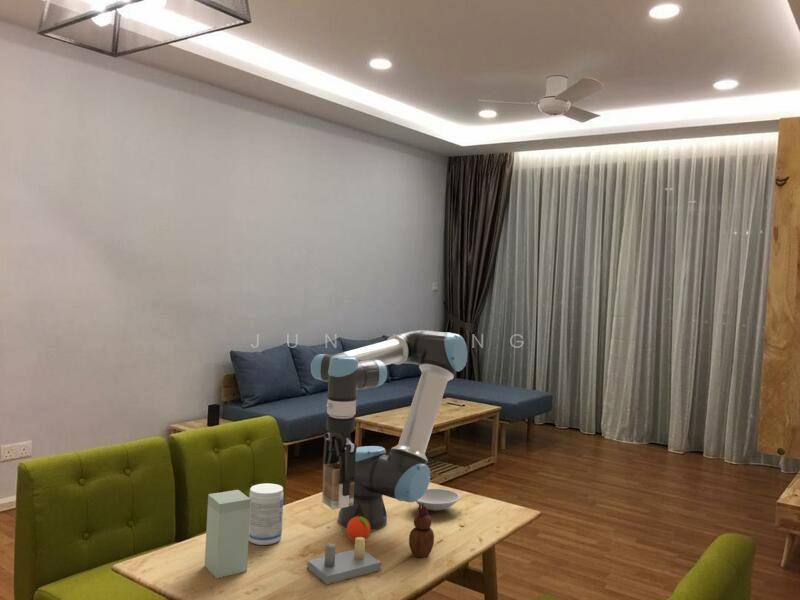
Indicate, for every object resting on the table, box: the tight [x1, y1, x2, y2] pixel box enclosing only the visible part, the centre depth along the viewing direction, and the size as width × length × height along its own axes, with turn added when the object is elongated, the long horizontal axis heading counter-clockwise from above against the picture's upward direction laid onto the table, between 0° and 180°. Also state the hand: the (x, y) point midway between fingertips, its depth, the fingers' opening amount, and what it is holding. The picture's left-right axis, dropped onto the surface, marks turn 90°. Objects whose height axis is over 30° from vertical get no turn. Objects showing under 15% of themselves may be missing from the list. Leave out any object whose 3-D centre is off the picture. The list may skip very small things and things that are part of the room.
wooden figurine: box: [408, 503, 435, 558], centre depth 175 cm, size 7×6×15 cm
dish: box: [415, 487, 461, 511], centre depth 211 cm, size 18×14×5 cm
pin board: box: [307, 537, 382, 585], centre depth 164 cm, size 16×10×7 cm, turn 127°
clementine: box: [346, 516, 372, 542], centre depth 182 cm, size 8×7×7 cm
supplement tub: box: [248, 483, 284, 546], centre depth 180 cm, size 10×10×15 cm
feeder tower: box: [204, 489, 251, 579], centre depth 161 cm, size 8×8×18 cm
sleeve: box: [321, 461, 354, 510], centre depth 166 cm, size 6×6×10 cm
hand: (337, 502), depth 166 cm, fingers closed on sleeve, 6 cm apart
